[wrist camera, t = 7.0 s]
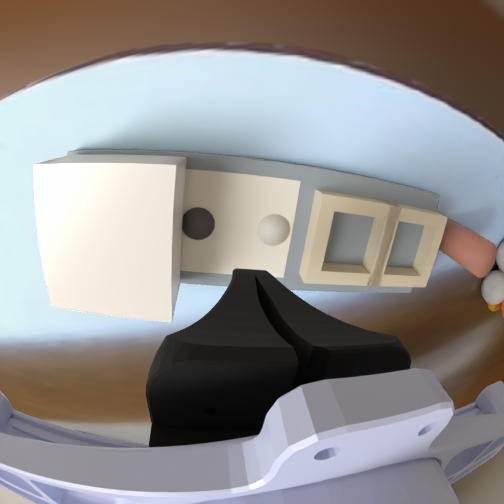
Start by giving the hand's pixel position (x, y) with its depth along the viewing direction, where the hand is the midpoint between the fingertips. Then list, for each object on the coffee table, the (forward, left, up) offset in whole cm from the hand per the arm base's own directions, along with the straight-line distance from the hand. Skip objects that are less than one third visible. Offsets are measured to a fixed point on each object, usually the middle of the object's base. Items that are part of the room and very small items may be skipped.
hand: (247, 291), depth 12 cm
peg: (-12, -14, -9) cm, 21 cm away
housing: (+5, +5, -8) cm, 11 cm away
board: (-1, -1, -9) cm, 10 cm away
